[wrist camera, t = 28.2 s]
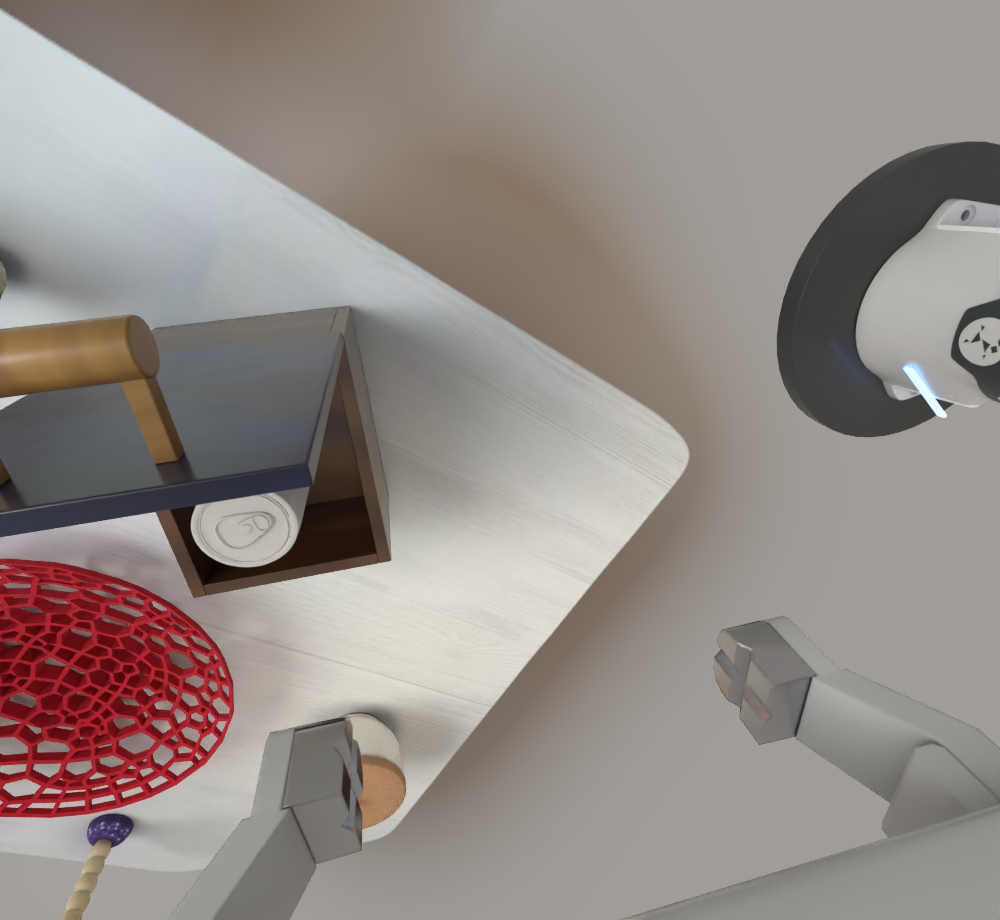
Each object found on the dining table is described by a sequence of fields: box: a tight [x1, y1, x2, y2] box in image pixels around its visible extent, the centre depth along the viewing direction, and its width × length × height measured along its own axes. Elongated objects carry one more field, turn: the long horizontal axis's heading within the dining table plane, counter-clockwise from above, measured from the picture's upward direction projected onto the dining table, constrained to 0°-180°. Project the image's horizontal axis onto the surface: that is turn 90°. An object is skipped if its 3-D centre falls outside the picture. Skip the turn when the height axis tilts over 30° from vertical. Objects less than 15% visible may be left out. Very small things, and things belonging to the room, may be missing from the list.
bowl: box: [0, 559, 234, 818], centre depth 47 cm, size 29×29×5 cm
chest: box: [151, 306, 391, 598], centre depth 39 cm, size 17×14×10 cm
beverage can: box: [191, 487, 310, 567], centre depth 36 cm, size 6×6×15 cm
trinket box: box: [340, 713, 406, 829], centre depth 56 cm, size 11×11×9 cm
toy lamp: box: [60, 815, 133, 920], centre depth 52 cm, size 5×5×17 cm
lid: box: [0, 315, 344, 537], centre depth 21 cm, size 18×14×5 cm
